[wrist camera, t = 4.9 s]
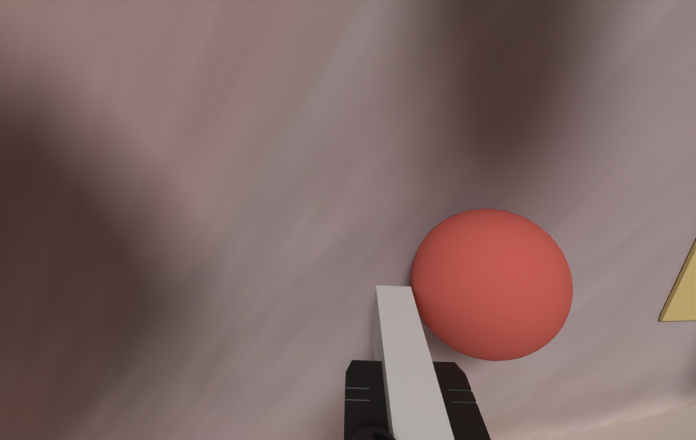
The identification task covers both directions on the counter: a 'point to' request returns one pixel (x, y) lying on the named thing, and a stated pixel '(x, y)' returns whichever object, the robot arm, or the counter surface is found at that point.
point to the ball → (491, 284)
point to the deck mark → (683, 293)
